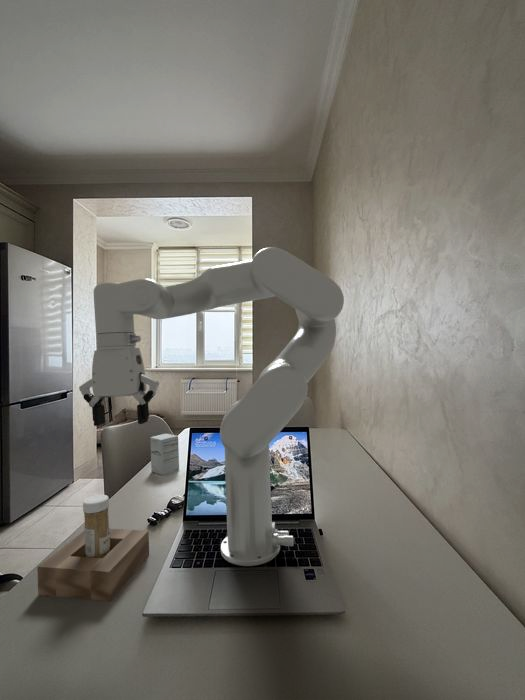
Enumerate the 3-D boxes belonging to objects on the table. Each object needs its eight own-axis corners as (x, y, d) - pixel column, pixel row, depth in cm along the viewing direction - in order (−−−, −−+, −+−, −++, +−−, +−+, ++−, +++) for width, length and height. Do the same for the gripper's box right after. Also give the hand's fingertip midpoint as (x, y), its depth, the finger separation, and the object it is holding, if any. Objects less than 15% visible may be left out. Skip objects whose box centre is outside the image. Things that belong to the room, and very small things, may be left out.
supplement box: (150, 471, 128) (149, 436, 128) (168, 466, 133) (166, 432, 133) (162, 475, 123) (161, 439, 123) (180, 470, 128) (178, 435, 128)
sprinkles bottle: (113, 568, 68) (110, 499, 68) (87, 578, 66) (84, 505, 66) (108, 557, 72) (106, 491, 72) (83, 566, 69) (81, 497, 69)
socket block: (149, 554, 74) (148, 530, 74) (110, 601, 61) (109, 571, 61) (89, 550, 77) (88, 527, 77) (38, 594, 63) (37, 566, 63)
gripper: (162, 340, 77) (167, 418, 77) (88, 345, 79) (93, 421, 79) (147, 339, 70) (152, 426, 70) (66, 345, 72) (71, 429, 72)
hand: (121, 423), depth 74 cm, fingers open, 9 cm apart
